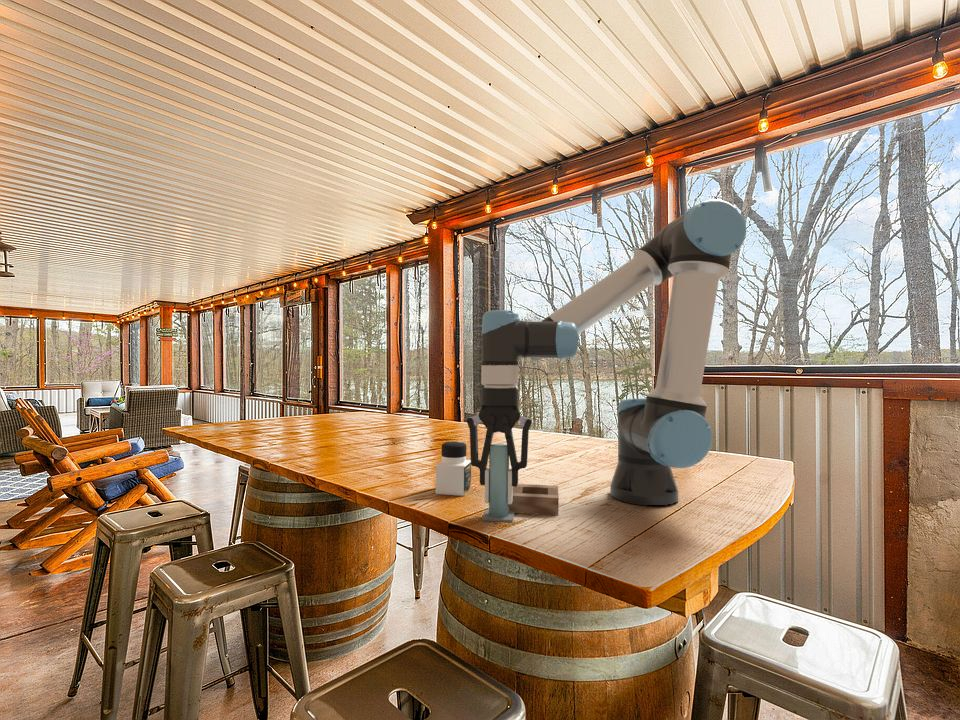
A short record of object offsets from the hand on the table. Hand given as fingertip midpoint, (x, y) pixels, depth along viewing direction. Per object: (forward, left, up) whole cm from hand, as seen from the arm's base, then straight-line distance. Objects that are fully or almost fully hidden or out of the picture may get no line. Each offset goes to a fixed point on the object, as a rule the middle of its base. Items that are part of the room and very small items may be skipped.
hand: (498, 501), depth 95 cm
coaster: (0, 0, -3) cm, 3 cm away
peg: (0, 0, -3) cm, 3 cm away
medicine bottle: (+13, -17, -3) cm, 22 cm away
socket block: (-7, -8, -3) cm, 11 cm away
